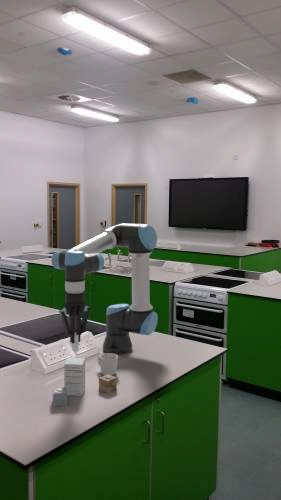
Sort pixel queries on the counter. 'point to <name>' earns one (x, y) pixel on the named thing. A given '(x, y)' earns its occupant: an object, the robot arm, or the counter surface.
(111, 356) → the cup
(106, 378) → the beige speckled cube
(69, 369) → the miniature drawer cabinet
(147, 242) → the robot arm
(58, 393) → the slate block
